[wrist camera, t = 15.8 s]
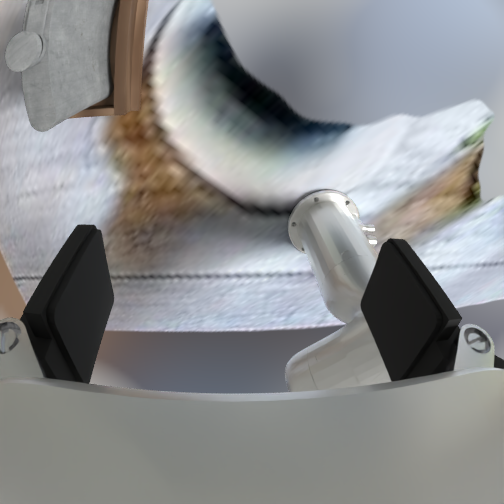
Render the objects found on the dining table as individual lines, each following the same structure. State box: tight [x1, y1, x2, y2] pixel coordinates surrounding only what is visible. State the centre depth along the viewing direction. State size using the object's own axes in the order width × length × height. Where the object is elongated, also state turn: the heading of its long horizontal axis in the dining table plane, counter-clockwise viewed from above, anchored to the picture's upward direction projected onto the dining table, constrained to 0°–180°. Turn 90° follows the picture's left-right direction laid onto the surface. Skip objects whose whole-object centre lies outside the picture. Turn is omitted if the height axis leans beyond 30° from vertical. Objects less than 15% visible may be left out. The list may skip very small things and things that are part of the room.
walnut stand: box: [70, 0, 149, 118], centre depth 31 cm, size 12×20×4 cm, turn 173°
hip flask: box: [5, 0, 118, 132], centre depth 24 cm, size 16×4×20 cm, turn 174°
